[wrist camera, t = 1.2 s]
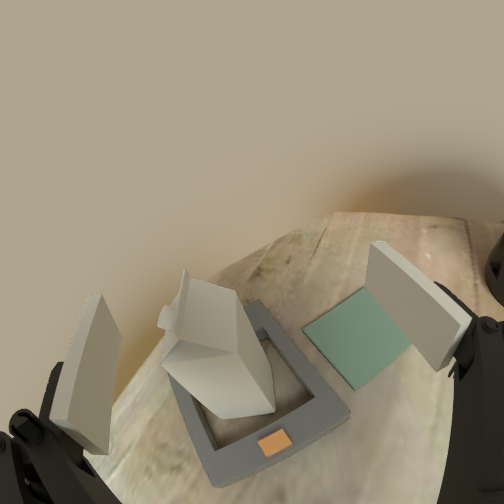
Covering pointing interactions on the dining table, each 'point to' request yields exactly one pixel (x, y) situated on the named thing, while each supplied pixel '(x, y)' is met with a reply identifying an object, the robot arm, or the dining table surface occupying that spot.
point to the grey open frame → (275, 434)
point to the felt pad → (358, 338)
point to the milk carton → (216, 351)
